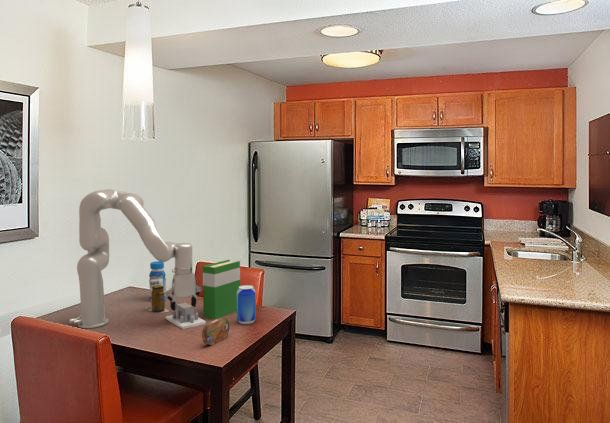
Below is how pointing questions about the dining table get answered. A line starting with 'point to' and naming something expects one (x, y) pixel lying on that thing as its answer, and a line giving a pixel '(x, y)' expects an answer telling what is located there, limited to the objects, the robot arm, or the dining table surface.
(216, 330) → the tin
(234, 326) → the dining table surface
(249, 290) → the beer can
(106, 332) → the dining table surface
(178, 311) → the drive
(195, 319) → the white peg board
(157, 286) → the condiment
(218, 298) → the hardback book
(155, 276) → the beverage bottle
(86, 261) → the robot arm
